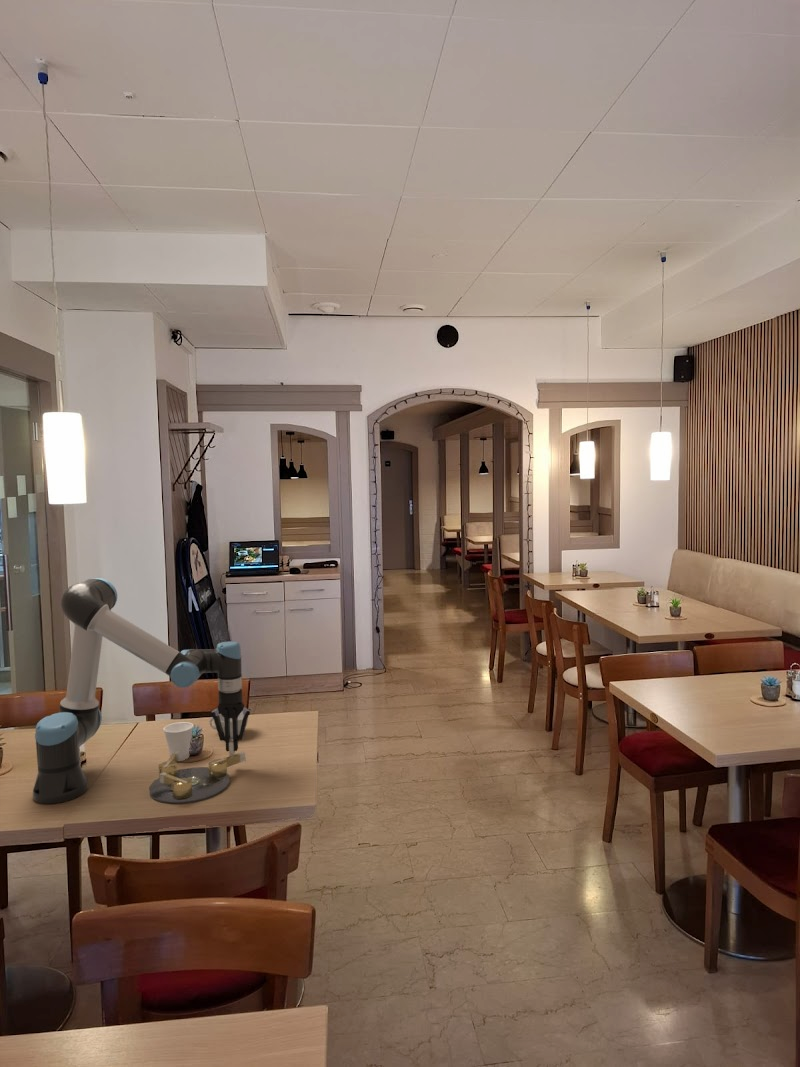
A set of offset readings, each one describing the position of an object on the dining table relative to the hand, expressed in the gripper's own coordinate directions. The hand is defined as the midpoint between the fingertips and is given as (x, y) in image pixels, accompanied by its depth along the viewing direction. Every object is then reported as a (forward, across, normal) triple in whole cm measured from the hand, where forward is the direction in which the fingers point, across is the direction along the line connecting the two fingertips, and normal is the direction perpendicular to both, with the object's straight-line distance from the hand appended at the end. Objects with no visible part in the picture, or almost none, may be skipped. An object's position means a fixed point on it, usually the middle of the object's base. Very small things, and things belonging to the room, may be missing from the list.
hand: (232, 760), depth 231 cm
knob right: (+2, -1, -4) cm, 4 cm away
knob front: (+2, -14, -18) cm, 23 cm away
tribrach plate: (+3, -11, -11) cm, 16 cm away
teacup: (+4, -7, +31) cm, 32 cm away
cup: (+4, -20, +12) cm, 24 cm away
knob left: (+2, -19, -3) cm, 19 cm away
